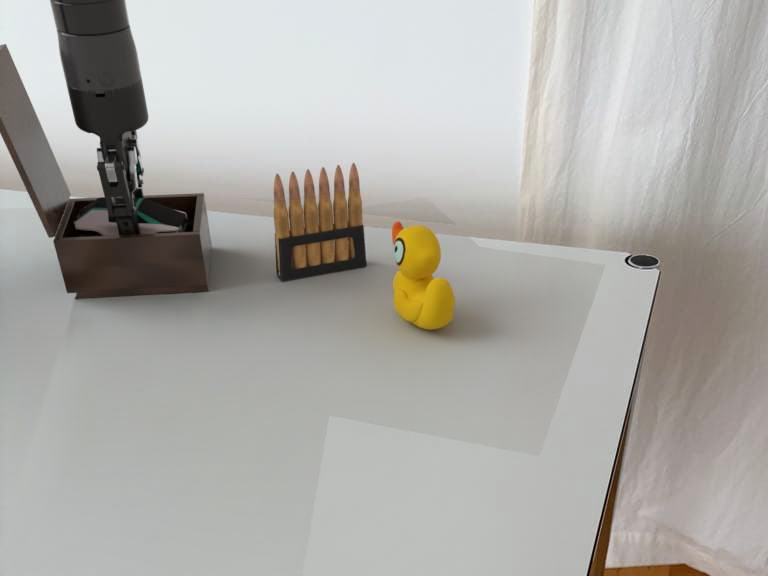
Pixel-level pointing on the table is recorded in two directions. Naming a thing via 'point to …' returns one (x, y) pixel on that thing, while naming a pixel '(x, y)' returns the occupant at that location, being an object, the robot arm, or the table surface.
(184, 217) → the toy car
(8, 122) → the case lid
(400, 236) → the duckling
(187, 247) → the case
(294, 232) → the ammunition clip
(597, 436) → the table surface
